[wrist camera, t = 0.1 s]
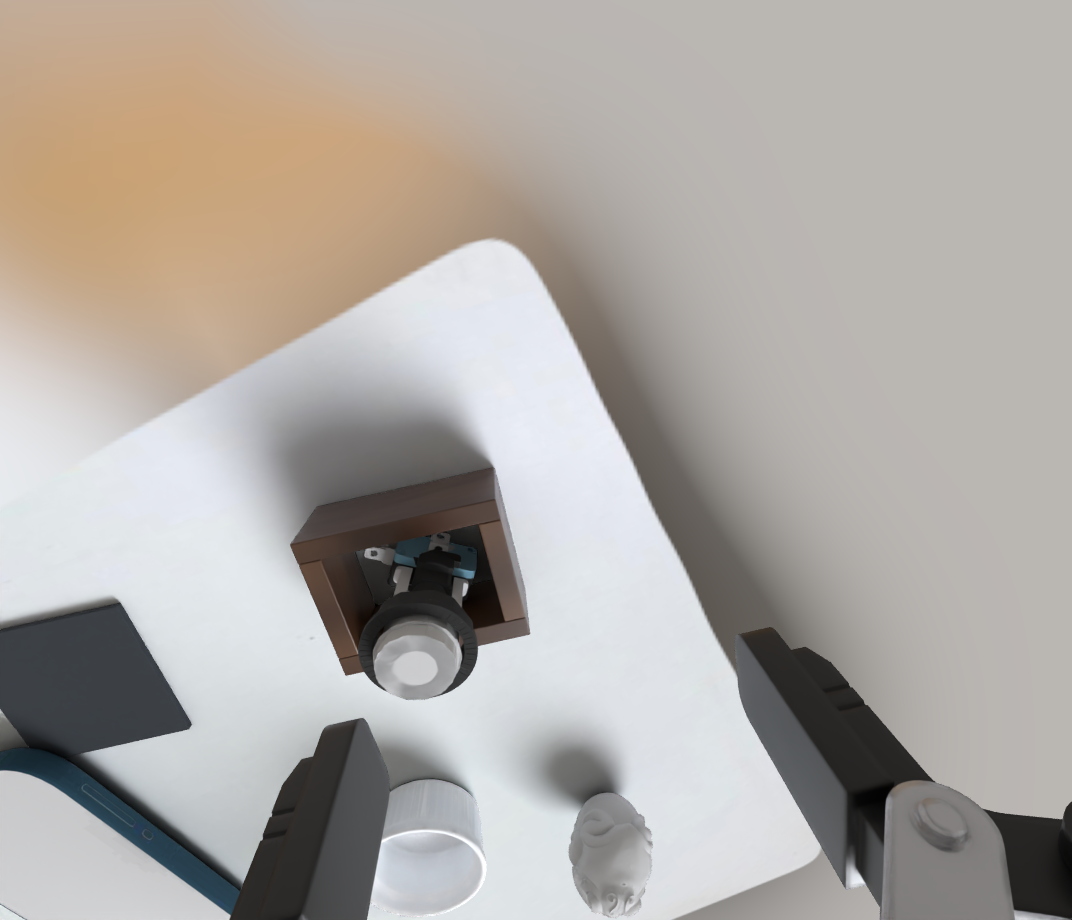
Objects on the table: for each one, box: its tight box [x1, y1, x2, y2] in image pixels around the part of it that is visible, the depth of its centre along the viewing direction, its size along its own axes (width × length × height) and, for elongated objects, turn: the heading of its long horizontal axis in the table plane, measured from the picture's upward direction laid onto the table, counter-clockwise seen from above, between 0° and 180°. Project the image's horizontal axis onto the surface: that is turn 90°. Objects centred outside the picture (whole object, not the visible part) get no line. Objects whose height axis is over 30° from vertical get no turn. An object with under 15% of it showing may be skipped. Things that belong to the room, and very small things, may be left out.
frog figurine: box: [569, 793, 653, 918], centre depth 38 cm, size 6×7×7 cm
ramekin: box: [370, 779, 487, 917], centre depth 38 cm, size 9×9×4 cm
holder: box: [290, 468, 530, 676], centre depth 30 cm, size 9×11×4 cm
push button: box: [358, 532, 478, 700], centre depth 28 cm, size 7×5×10 cm
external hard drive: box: [0, 748, 240, 920], centre depth 38 cm, size 24×12×2 cm, turn 28°
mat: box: [0, 603, 192, 758], centre depth 33 cm, size 10×10×1 cm
